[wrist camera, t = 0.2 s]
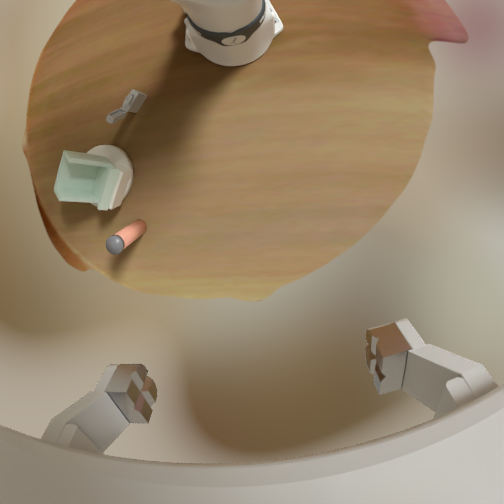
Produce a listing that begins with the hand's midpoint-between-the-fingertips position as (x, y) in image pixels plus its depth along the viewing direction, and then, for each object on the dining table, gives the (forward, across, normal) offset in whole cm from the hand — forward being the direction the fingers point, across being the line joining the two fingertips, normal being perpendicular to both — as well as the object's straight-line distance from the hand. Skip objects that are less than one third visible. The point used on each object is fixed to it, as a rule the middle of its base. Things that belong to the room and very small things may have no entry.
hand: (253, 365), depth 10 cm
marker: (+48, +25, +4) cm, 55 cm away
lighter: (+49, +20, -20) cm, 56 cm away
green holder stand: (+48, +29, -8) cm, 57 cm away
